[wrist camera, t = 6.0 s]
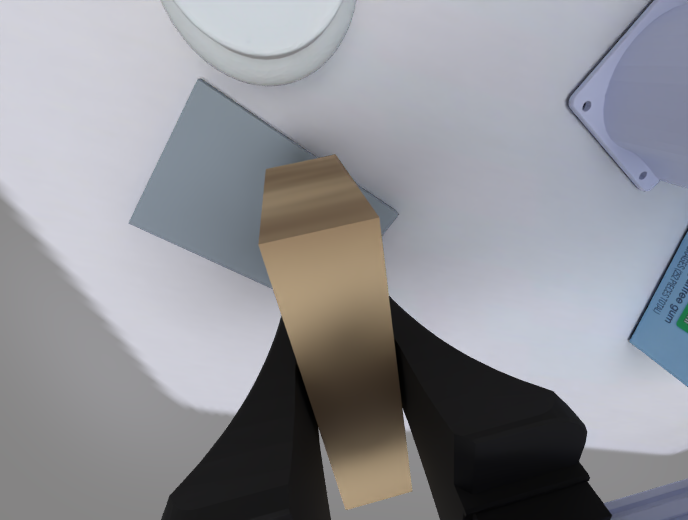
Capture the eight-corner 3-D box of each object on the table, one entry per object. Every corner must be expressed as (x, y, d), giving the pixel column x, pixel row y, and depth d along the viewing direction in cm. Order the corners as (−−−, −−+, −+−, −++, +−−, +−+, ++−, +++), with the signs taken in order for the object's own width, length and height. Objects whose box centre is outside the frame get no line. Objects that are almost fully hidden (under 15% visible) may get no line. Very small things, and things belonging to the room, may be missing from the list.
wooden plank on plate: (372, 368, 18) (412, 491, 13) (325, 380, 18) (345, 509, 12) (335, 154, 12) (379, 217, 7) (265, 169, 12) (258, 244, 7)
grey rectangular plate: (395, 210, 20) (398, 214, 20) (321, 305, 23) (322, 311, 22) (200, 78, 16) (197, 79, 15) (132, 218, 18) (128, 223, 18)
